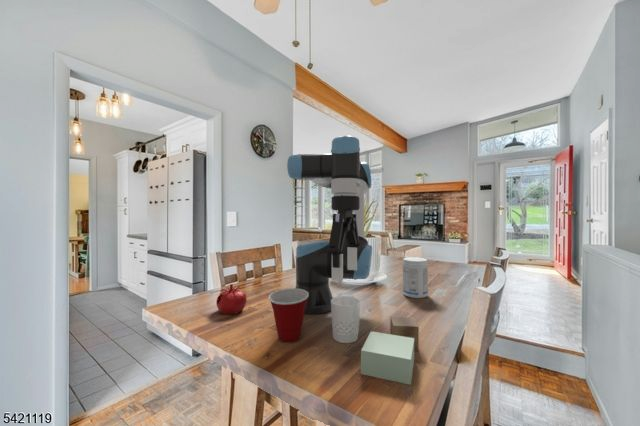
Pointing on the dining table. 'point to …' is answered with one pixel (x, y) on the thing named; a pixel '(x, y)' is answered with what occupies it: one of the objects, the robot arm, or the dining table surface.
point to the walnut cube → (405, 329)
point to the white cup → (345, 318)
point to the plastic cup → (289, 312)
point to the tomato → (231, 300)
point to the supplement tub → (415, 277)
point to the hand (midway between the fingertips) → (345, 274)
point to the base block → (388, 357)
